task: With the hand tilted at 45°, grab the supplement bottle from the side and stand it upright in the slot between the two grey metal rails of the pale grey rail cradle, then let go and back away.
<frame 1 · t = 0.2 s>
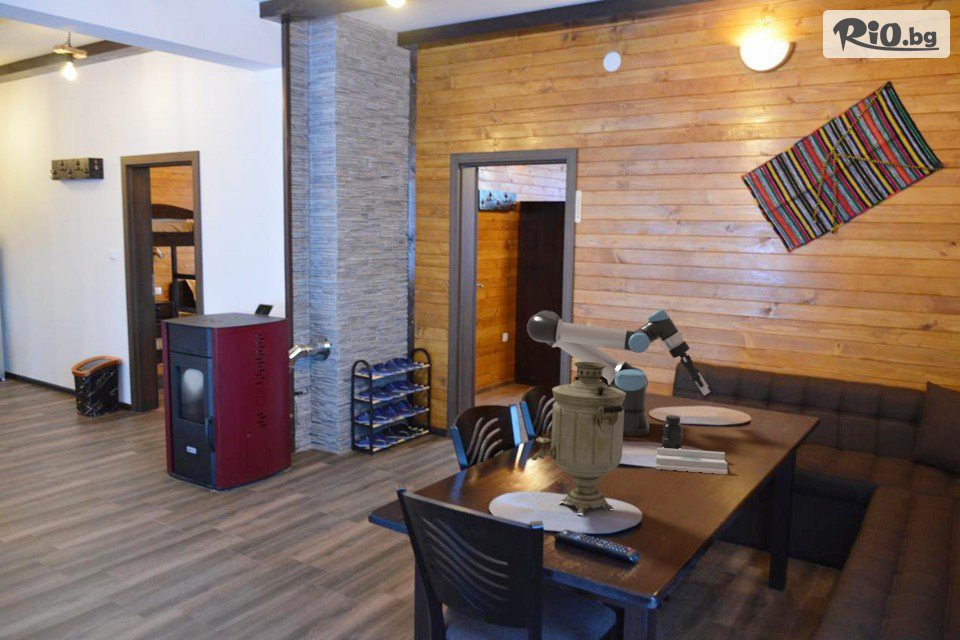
hand: (706, 390, 290), 15 cm above the table, tool tilted 35°, fingers open, 13 cm apart
samovar: (575, 507, 204), on the table
supplement bottle: (671, 450, 261), on the table
rail cradle: (690, 464, 244), on the table
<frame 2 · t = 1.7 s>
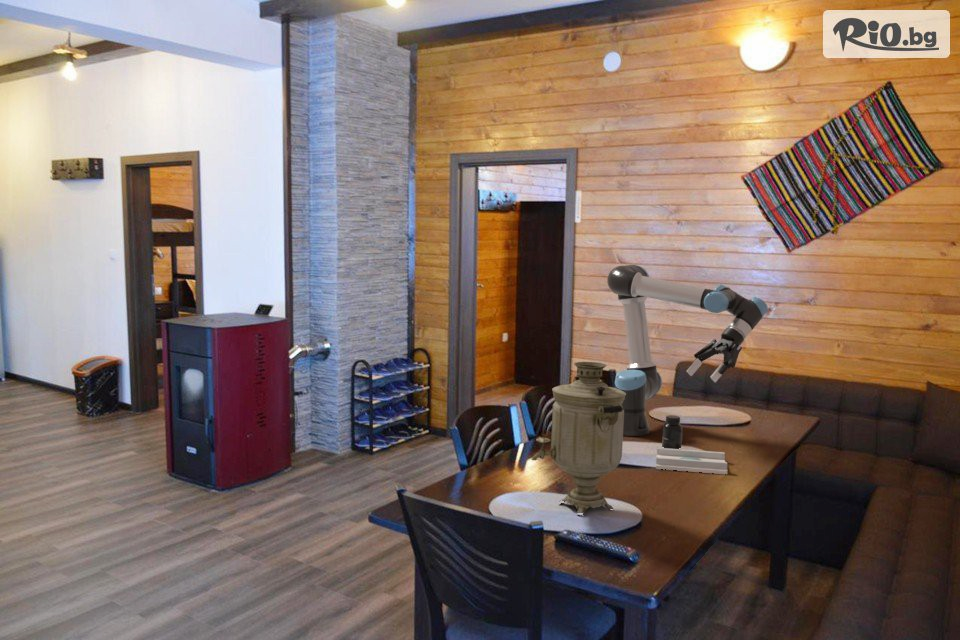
hand: (700, 376, 265), 25 cm above the table, tool tilted 45°, fingers open, 13 cm apart
nothing on the table moved.
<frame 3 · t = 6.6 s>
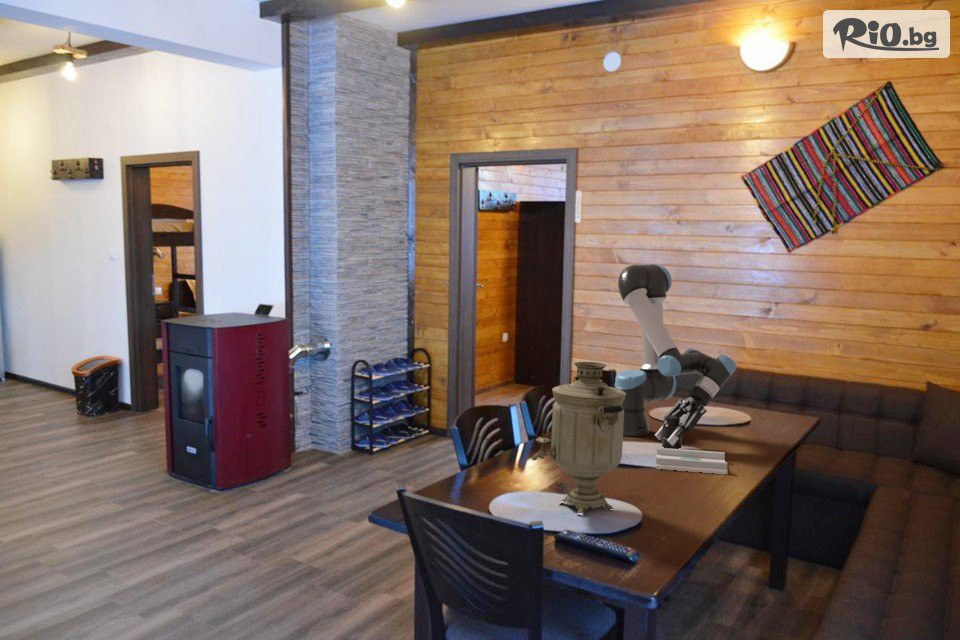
hand: (663, 440, 260), 4 cm above the table, tool tilted 45°, fingers closed on supplement bottle, 7 cm apart
supplement bottle: (671, 450, 261), on the table, touching gripper
everything else where it was.
when the fingers open (6 cm above the table, at t = 11.6 s): supplement bottle drops 1 cm, resting on rail cradle.
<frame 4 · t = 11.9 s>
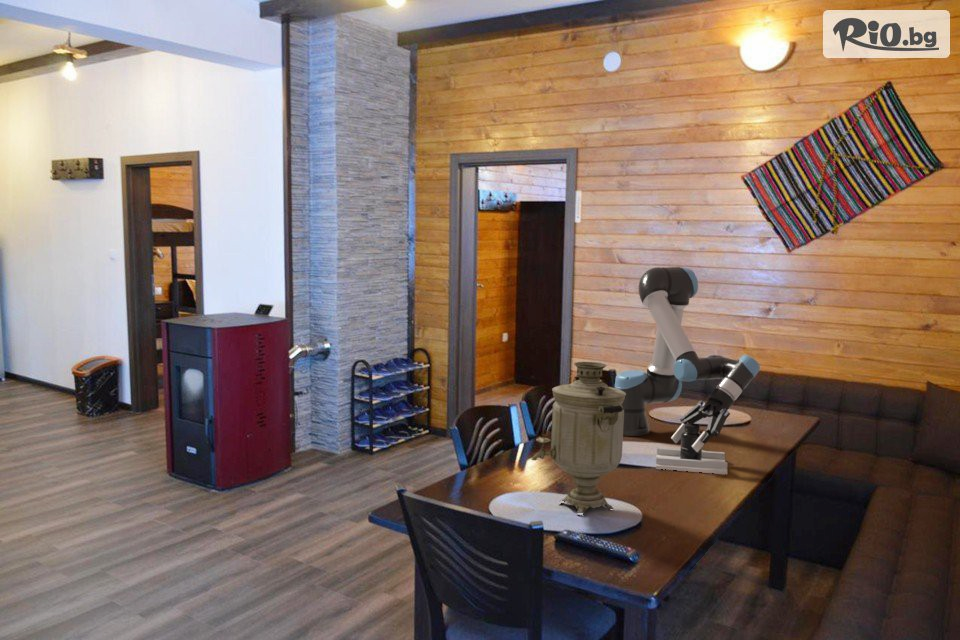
hand: (683, 444, 242), 7 cm above the table, tool tilted 45°, fingers open, 10 cm apart
supplement bottle: (690, 460, 244), point 1 cm above the table, touching rail cradle
everything else where it was.
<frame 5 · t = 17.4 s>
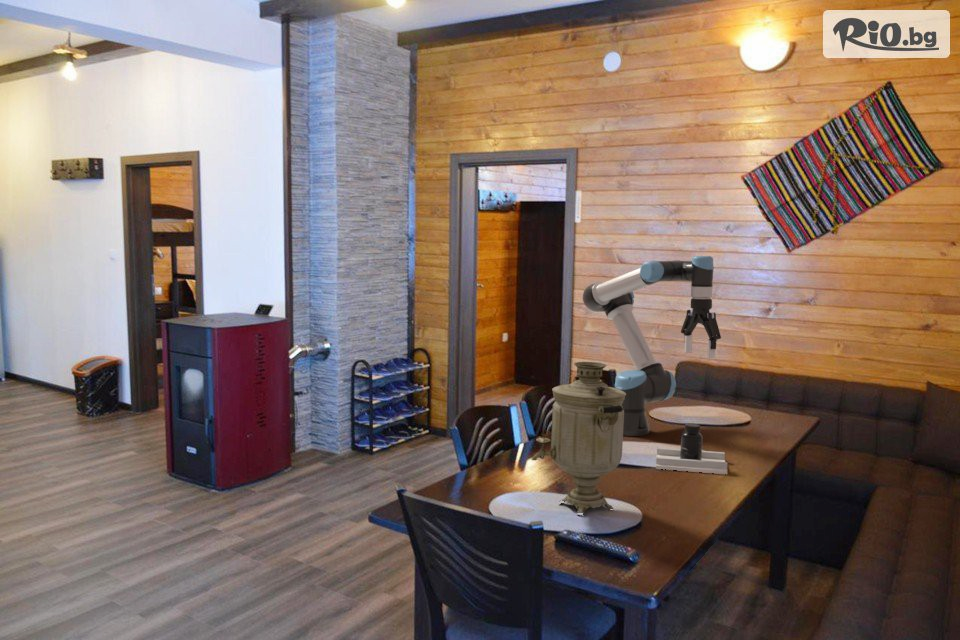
hand: (699, 355, 272), 32 cm above the table, tool pointing down, fingers open, 13 cm apart
nothing on the table moved.
at the end: supplement bottle inside the target area on the rail cradle (0.1 cm from its centre), point 1.2 cm above the rail cradle's base; supplement bottle tilted 0°; the gripper is holding nothing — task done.
